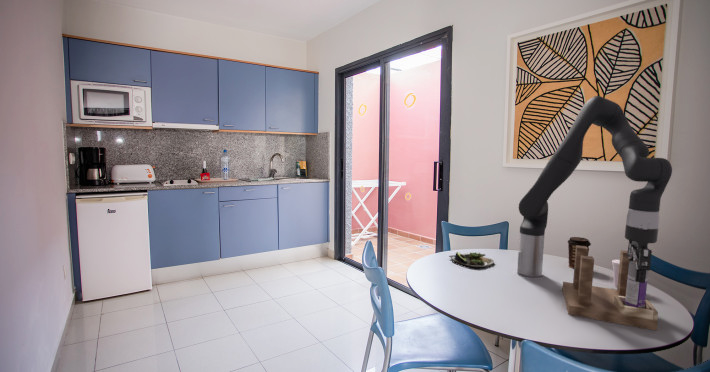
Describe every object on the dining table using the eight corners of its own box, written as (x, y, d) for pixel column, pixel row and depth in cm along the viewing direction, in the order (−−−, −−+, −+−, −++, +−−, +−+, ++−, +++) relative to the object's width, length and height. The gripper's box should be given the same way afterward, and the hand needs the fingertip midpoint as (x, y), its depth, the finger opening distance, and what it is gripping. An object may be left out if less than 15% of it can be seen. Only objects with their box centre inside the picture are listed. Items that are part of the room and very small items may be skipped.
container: (639, 308, 109) (644, 261, 107) (646, 315, 104) (652, 266, 102) (621, 306, 110) (626, 260, 108) (627, 312, 106) (632, 264, 104)
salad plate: (470, 253, 175) (470, 244, 175) (503, 263, 161) (503, 253, 160) (444, 260, 164) (444, 251, 164) (476, 271, 150) (477, 261, 149)
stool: (568, 314, 111) (572, 259, 109) (562, 289, 131) (565, 242, 129) (656, 330, 101) (662, 270, 99) (635, 300, 121) (640, 250, 119)
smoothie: (634, 290, 130) (638, 254, 128) (615, 289, 131) (618, 252, 129) (624, 284, 136) (628, 249, 134) (606, 282, 137) (609, 248, 136)
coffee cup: (588, 266, 156) (591, 238, 154) (589, 272, 149) (591, 242, 148) (566, 263, 161) (568, 235, 159) (565, 268, 154) (567, 239, 152)
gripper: (620, 219, 112) (615, 268, 114) (632, 228, 99) (626, 283, 101) (650, 221, 109) (645, 272, 110) (666, 231, 96) (659, 288, 98)
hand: (636, 277), depth 106 cm, fingers open, 8 cm apart
